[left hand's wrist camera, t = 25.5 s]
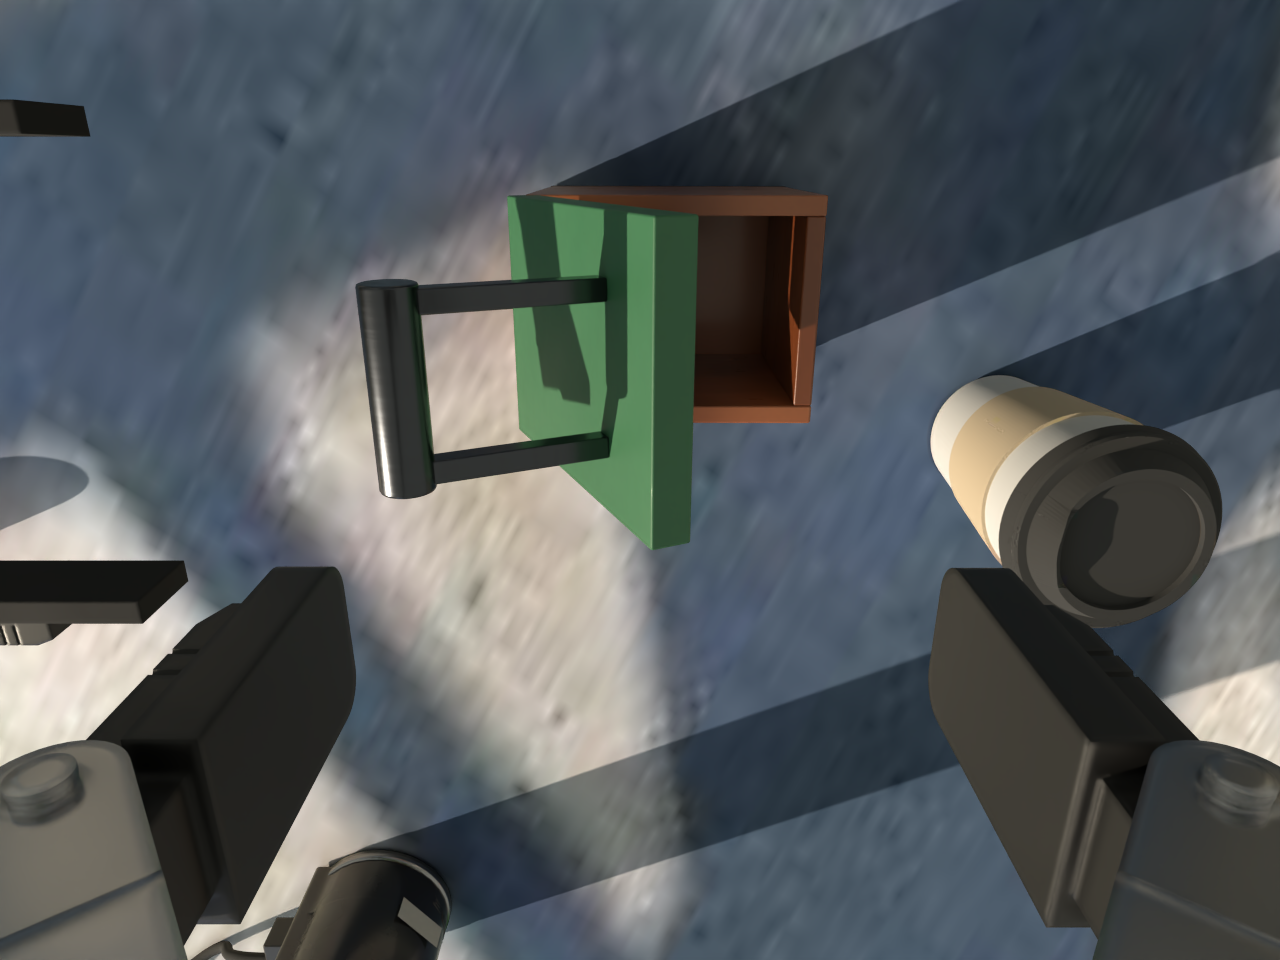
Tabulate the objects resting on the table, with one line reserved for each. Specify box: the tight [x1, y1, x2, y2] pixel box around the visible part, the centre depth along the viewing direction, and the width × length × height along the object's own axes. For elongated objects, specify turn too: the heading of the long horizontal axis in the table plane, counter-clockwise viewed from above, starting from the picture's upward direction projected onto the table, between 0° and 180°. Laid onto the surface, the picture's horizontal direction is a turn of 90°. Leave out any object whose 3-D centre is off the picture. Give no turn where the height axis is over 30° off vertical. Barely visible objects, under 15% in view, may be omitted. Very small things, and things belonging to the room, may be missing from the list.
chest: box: [527, 186, 828, 423], centre depth 39 cm, size 12×9×11 cm
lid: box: [355, 195, 699, 550], centre depth 27 cm, size 13×9×8 cm
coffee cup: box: [931, 375, 1222, 628], centre depth 40 cm, size 9×9×15 cm
